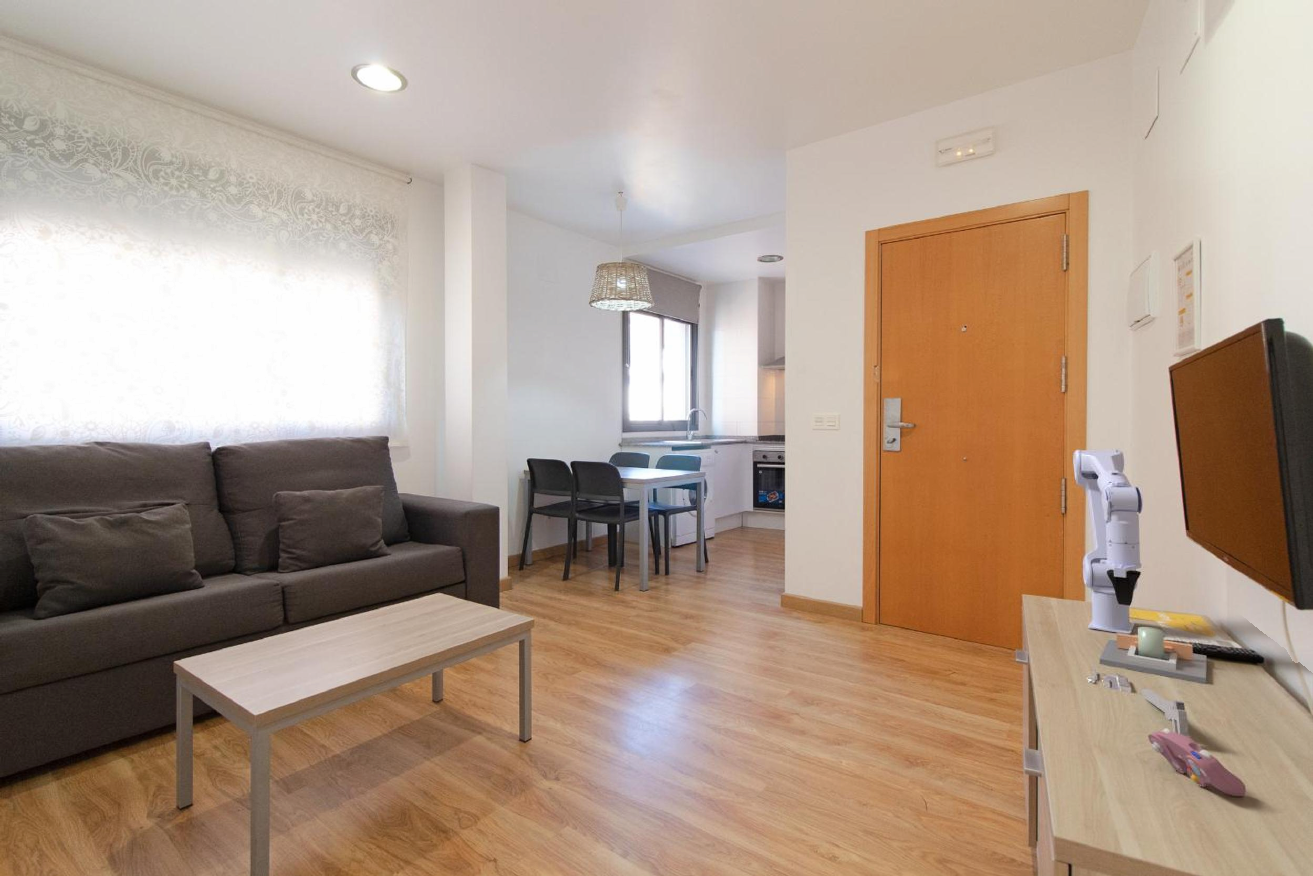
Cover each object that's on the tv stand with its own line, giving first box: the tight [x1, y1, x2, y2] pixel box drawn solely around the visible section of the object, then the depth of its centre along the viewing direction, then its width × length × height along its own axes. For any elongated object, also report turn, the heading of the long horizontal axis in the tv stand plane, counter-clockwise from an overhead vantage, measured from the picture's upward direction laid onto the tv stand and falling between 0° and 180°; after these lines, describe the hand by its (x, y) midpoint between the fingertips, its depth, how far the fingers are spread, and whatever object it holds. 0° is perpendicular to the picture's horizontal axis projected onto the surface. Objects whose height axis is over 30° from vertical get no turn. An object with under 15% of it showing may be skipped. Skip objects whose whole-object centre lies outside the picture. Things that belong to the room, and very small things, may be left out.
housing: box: [1099, 639, 1208, 685], centre depth 123 cm, size 15×16×2 cm
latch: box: [1116, 633, 1194, 660], centre depth 124 cm, size 2×12×3 cm, turn 47°
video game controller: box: [1147, 727, 1247, 797], centre depth 82 cm, size 10×5×7 cm, turn 0°
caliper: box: [1140, 688, 1189, 737], centre depth 100 cm, size 20×1×6 cm, turn 155°
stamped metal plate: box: [1086, 668, 1132, 693], centre depth 114 cm, size 8×7×2 cm
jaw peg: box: [1137, 626, 1165, 660], centre depth 121 cm, size 4×4×6 cm
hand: (1124, 604), depth 131 cm, fingers closed
